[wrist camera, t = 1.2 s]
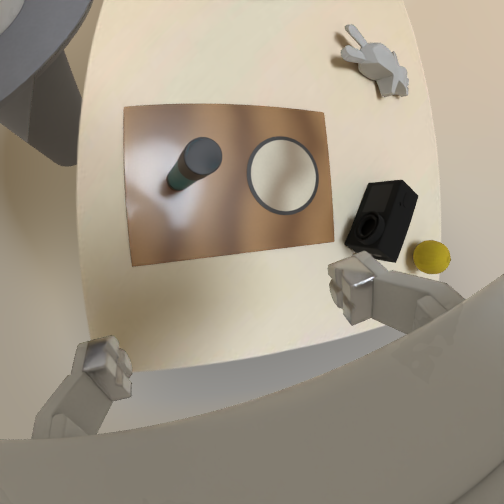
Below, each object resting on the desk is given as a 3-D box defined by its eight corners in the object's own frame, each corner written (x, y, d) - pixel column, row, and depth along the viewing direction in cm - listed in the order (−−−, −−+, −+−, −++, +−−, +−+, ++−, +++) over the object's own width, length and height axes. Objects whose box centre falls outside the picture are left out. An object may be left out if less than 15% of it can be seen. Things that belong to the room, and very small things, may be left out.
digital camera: (363, 177, 42) (397, 173, 36) (385, 196, 44) (419, 195, 38) (338, 240, 41) (372, 244, 35) (362, 256, 43) (396, 263, 37)
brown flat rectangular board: (132, 266, 32) (132, 266, 31) (124, 107, 29) (123, 106, 29) (332, 241, 41) (335, 241, 40) (322, 113, 39) (324, 112, 38)
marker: (166, 192, 32) (184, 176, 20) (165, 167, 32) (182, 137, 20) (191, 190, 33) (224, 174, 21) (190, 166, 33) (221, 136, 21)
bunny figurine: (414, 106, 40) (353, 53, 33) (391, 111, 45) (329, 64, 38) (415, 65, 40) (358, 13, 33) (394, 71, 45) (336, 24, 37)
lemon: (410, 233, 47) (447, 236, 40) (425, 246, 49) (460, 251, 42) (400, 263, 47) (437, 270, 39) (416, 274, 49) (451, 282, 41)
